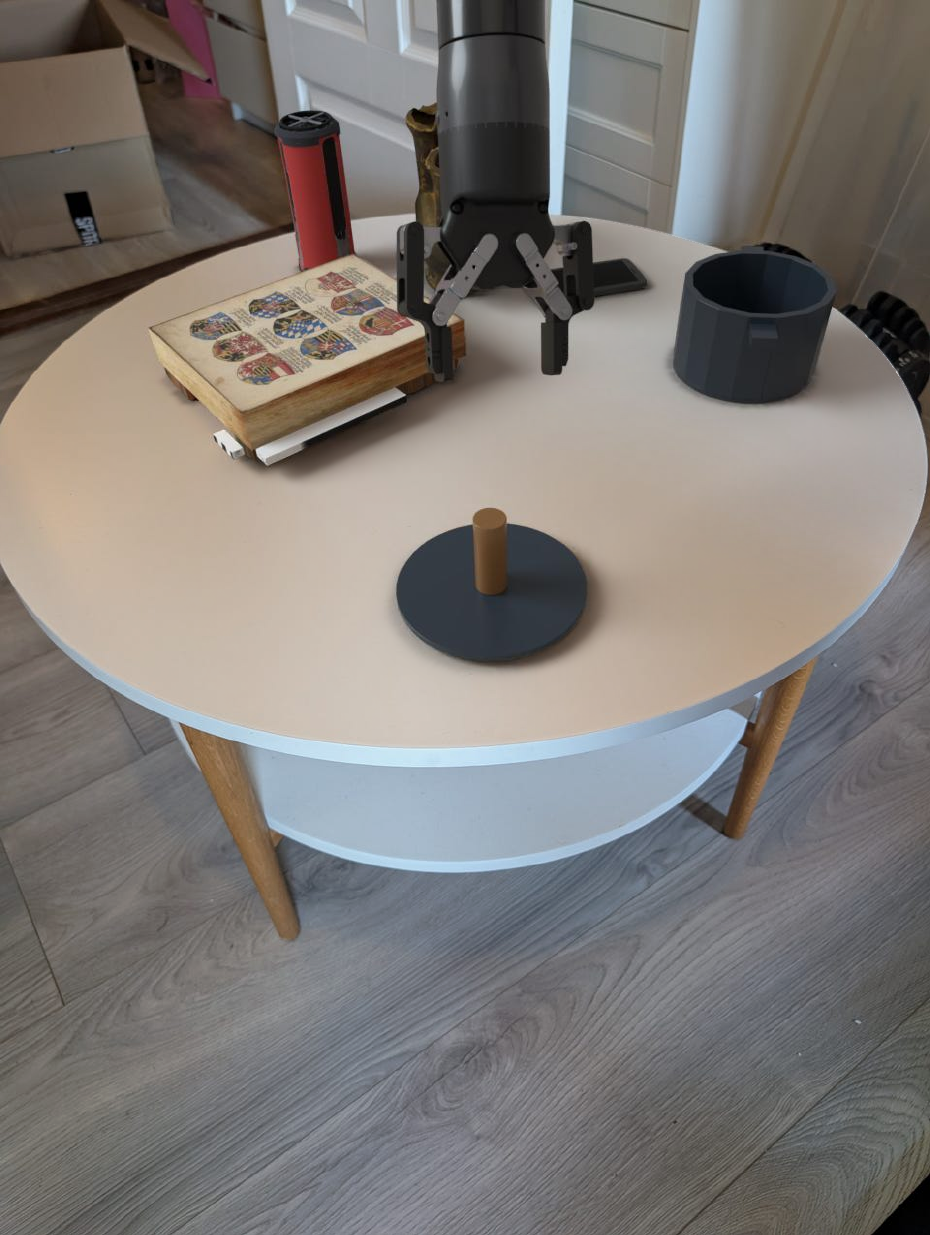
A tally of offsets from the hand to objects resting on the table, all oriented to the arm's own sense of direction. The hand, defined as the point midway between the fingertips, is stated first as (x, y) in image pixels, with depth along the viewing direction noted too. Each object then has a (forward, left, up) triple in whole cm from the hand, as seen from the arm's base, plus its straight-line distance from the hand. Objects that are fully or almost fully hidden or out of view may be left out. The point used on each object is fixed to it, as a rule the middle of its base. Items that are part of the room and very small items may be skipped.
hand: (499, 377), depth 64 cm
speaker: (+30, -52, -17) cm, 63 cm away
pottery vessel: (+12, -51, -17) cm, 55 cm away
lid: (0, +6, -16) cm, 17 cm away
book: (+24, -24, -17) cm, 38 cm away
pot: (-22, -32, -17) cm, 42 cm away
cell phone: (-4, -50, -17) cm, 53 cm away
